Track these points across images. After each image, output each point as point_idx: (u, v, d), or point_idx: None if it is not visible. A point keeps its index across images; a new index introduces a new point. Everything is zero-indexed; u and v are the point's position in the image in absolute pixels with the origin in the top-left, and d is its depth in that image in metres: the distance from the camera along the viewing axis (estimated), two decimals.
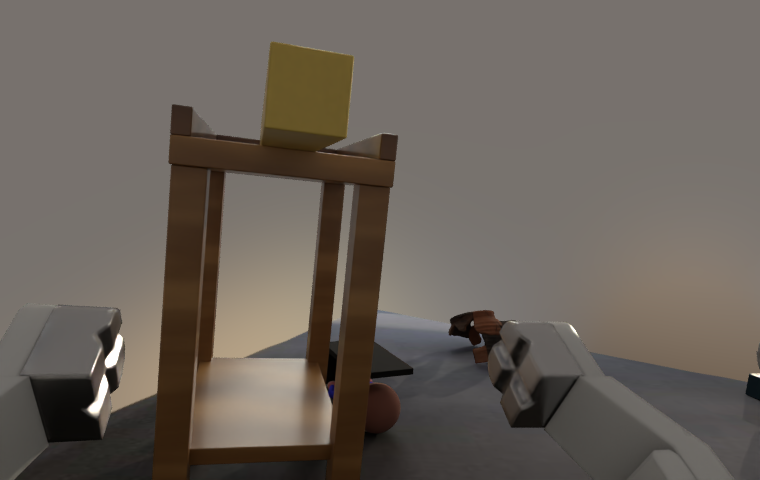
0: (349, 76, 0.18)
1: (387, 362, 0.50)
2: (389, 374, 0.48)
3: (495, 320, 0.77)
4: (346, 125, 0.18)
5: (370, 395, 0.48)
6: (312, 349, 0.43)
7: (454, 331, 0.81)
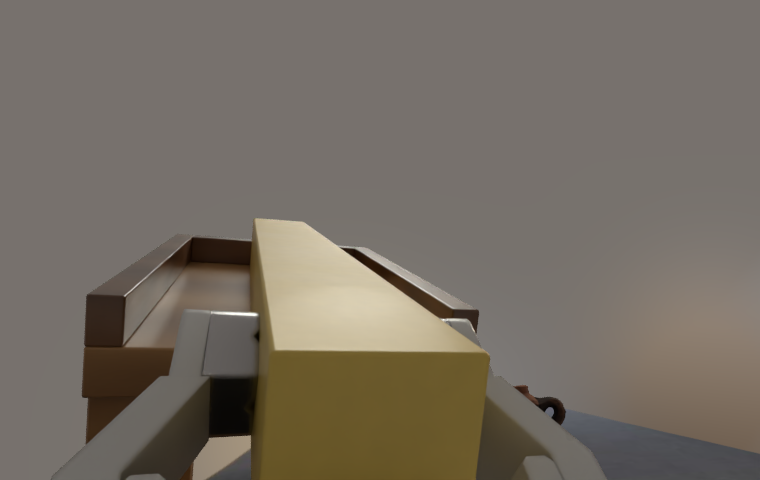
0: (478, 408, 0.07)
1: None
2: None
3: (530, 398, 0.66)
4: None
5: None
6: None
7: None
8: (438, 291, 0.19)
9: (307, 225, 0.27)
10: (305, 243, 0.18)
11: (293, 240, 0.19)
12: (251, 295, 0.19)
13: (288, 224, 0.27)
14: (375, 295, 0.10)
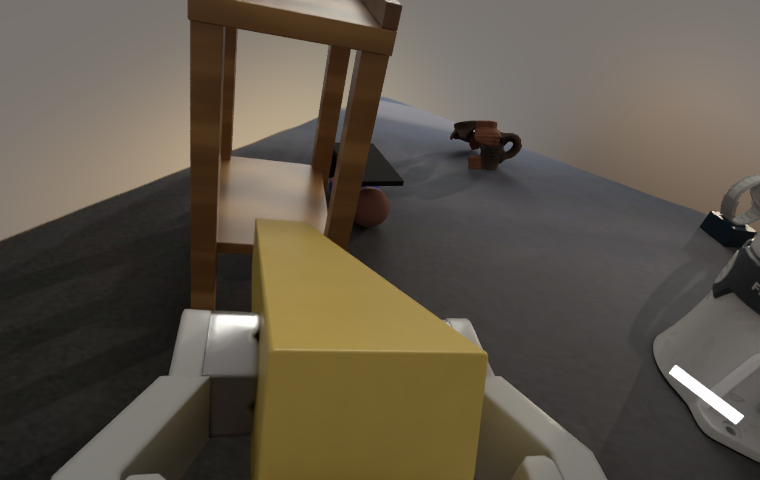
0: (476, 407, 0.07)
1: (382, 172, 0.57)
2: (382, 184, 0.55)
3: (496, 132, 0.81)
4: None
5: (364, 198, 0.57)
6: (317, 159, 0.50)
7: (456, 135, 0.86)
8: None
9: (309, 225, 0.27)
10: (306, 243, 0.18)
11: (294, 240, 0.19)
12: None
13: (290, 224, 0.27)
14: (375, 295, 0.10)
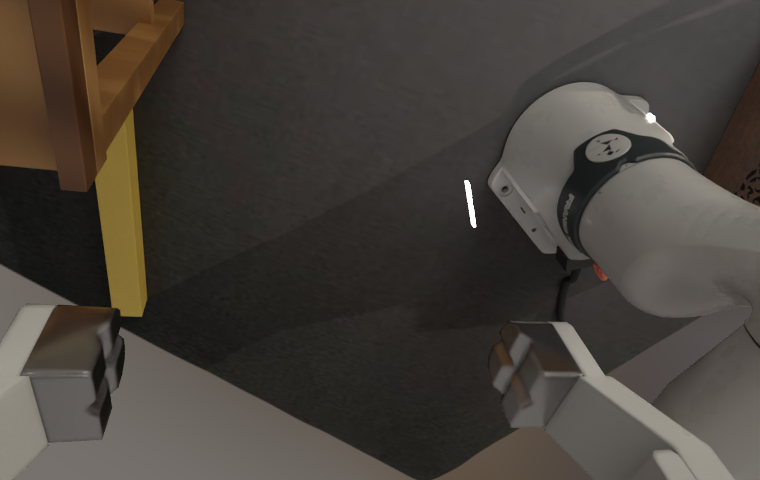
0: None
1: None
2: None
3: None
4: (145, 301, 0.58)
5: None
6: None
7: None
8: (66, 125, 0.18)
9: (125, 147, 0.44)
10: (120, 229, 0.49)
11: (115, 223, 0.48)
12: None
13: (112, 148, 0.44)
14: (132, 294, 0.54)
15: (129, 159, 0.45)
